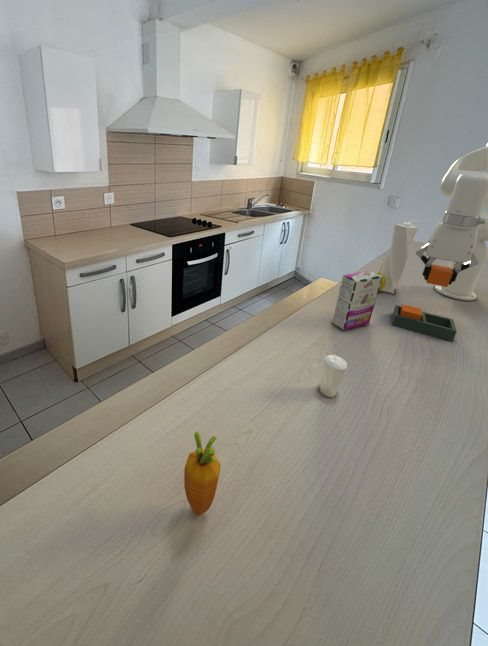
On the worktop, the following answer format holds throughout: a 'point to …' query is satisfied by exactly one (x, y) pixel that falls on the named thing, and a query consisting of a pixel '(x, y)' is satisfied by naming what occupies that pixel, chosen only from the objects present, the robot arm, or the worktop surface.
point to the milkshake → (332, 374)
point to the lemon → (381, 281)
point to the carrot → (201, 476)
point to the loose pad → (439, 275)
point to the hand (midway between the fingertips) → (437, 280)
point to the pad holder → (426, 324)
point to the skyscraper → (397, 255)
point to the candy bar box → (356, 299)
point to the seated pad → (410, 312)
